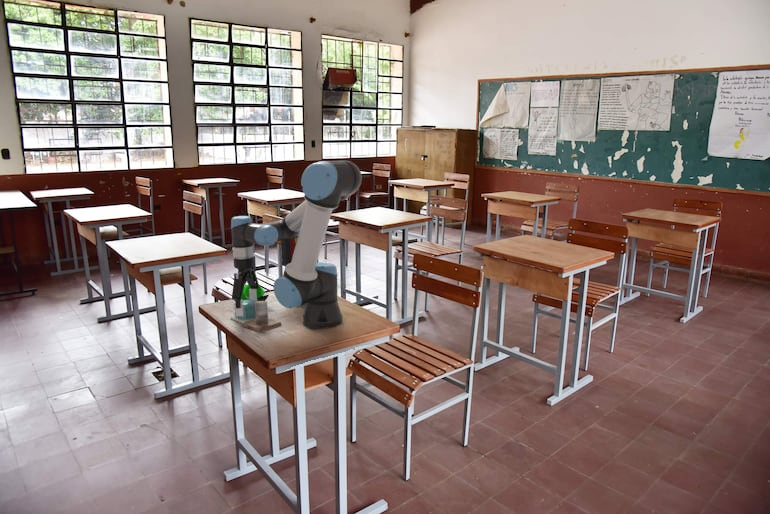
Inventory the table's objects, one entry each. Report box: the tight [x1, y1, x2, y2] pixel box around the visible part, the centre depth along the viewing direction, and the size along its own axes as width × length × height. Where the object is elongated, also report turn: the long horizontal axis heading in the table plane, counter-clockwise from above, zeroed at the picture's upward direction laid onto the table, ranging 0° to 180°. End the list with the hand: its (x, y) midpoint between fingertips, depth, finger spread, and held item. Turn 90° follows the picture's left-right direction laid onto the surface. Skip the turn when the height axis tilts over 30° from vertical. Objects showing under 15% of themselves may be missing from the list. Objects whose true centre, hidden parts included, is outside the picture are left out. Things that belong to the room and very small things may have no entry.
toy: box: [233, 283, 270, 302], centre depth 225 cm, size 10×11×15 cm
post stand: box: [242, 300, 282, 333], centre depth 202 cm, size 10×10×9 cm
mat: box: [229, 314, 256, 324], centre depth 210 cm, size 9×9×1 cm
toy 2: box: [280, 235, 319, 267], centre depth 230 cm, size 14×6×30 cm, turn 119°
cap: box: [232, 300, 257, 320], centre depth 210 cm, size 8×11×5 cm
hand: (246, 310), depth 210 cm, fingers open, 13 cm apart
